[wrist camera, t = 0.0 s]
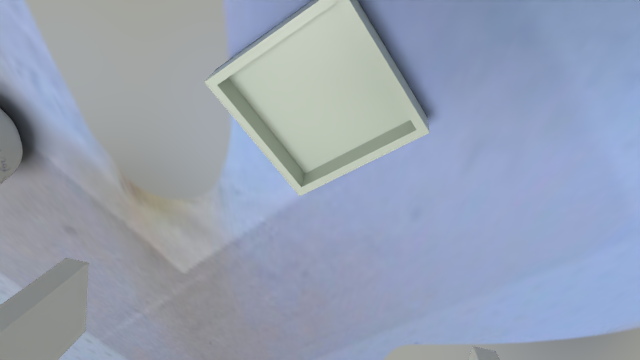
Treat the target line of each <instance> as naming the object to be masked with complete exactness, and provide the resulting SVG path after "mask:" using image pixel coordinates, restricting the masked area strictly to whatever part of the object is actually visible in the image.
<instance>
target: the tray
mask: <svg viewBox="0 0 640 360" xmlns="http://www.w3.org/2000/svg"><path fill="white" fill-rule="evenodd" d="M205 84H206V85H207V86H208V87H209V89H210V90H211V91H212V92H213V93H214V95H215V96H216V97H217V98H218V99H219V100H220V102H221V103H222V104H223V105H224V106H225V108H226V109H227V110H228V111H229V112H230V114H231V115H232V116H233V117H234V118H235V120H236V121H237V122H238V123H239V124H240V126H241V127H242V128H243V129H244V130H245V132H246V133H247V134H248V135H249V136H250V138H251V139H252V140H253V141H254V142H255V144H256V145H257V146H258V147H259V148H260V149H261V151H262V152H263V153H264V154H265V155H266V157H267V158H268V159H269V160H270V161H271V163H272V164H273V165H274V166H275V167H276V169H277V170H278V171H279V172H280V173H281V175H282V176H283V177H284V178H285V179H286V181H287V182H288V183H289V184H290V185H291V187H292V188H293V189H294V190H295V191H296V193H297V194H298V195H299V196H301V195H303V194H305V193H308V192H310V191H312V190H314V189H316V188H318V187H320V186H322V185H324V184H326V183H328V182H330V181H332V180H334V179H336V178H338V177H340V176H342V175H344V174H346V173H348V172H350V171H352V170H355V169H357V168H359V167H361V166H363V165H365V164H367V163H369V162H371V161H373V160H375V159H377V158H379V157H381V156H383V155H385V154H387V153H389V152H391V151H393V150H395V149H397V148H399V147H402V146H404V145H406V144H408V143H410V142H412V141H414V140H416V139H418V138H420V137H422V136H424V135H426V134H428V133H430V132H429V126H428V119H427V116H426V114H425V113H424V111H423V109H422V108H421V106H420V104H419V102H418V101H417V99H416V97H415V96H414V94H413V92H412V91H411V89H410V87H409V86H408V84H407V82H406V81H405V79H404V77H403V76H402V74H401V72H400V71H399V69H398V67H397V66H396V64H395V62H394V61H393V59H392V57H391V56H390V54H389V52H388V51H387V49H386V47H385V46H384V44H383V42H382V41H381V39H380V37H379V35H378V34H377V32H376V30H375V29H374V27H373V25H372V24H371V22H370V20H369V19H368V17H367V15H366V14H365V12H364V10H363V9H362V7H361V5H360V4H359V2H358V0H312V1H311V2H309V3H308V4H306V5H305V6H304V7H302V8H301V9H299V10H298V11H297V12H295V13H294V14H292V15H291V16H290V17H288V18H287V19H285V20H284V21H283V22H281V23H280V24H278V25H277V26H276V27H274V28H273V29H272V30H270V31H269V32H267V33H266V34H265V35H263V36H262V37H260V38H259V39H258V40H256V41H255V42H253V43H252V44H251V45H249V46H248V47H246V48H245V49H244V50H242V51H241V52H239V53H238V54H237V55H235V56H234V57H232V58H231V59H230V60H228V61H227V62H226V63H224V64H223V65H221V66H220V67H219V68H217V69H216V70H215V71H214V72H213V73H212V74H211V75H210V76H209V77H208V79H207V80H206V81H205Z"/></svg>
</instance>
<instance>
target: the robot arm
mask: <svg viewBox="0 0 640 360" xmlns="http://www.w3.org/2000/svg"><path fill="white" fill-rule="evenodd" d="M88 265H89V263H88V262H83V261H79V260H74V259H70V258H65V259H64V260H63V261H61V262H60V263H59V264H57V265H56V266H54V267H53V268H52V269H50V270H49V271H47V272H46V273H45V274H43V275H42V276H40V277H39V278H38V279H36V280H35V281H33V282H32V283H31V284H29V285H28V286H26V287H25V288H24V289H22V290H21V291H19V292H18V293H17V294H15V295H14V296H12V297H11V298H10V299H8V300H7V301H5V302H4V303H3V304H1V305H0V360H58V359H59V358H60V357H61V356H62V355H63V354H64V353H65V352H66V351H67V350H68V349H69V348H70V347H71V346H72V345H73V344H74V343H75V342H76V341H77V340H78V339H79V337H80V336H81V335H82V334H83V333H84V332H85V331H86V310H87V287H88ZM468 360H500V359H499V357H498V355H497V353H496V351H492V350H488V349H483V348H478V347H473V348H472V351H471V353H470V356H469V359H468Z"/></svg>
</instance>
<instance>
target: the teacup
mask: <svg viewBox="0 0 640 360" xmlns="http://www.w3.org/2000/svg"><path fill="white" fill-rule="evenodd" d="M22 154H23V149H22V143H21V140H20V136H19V133H18V130H17V128H16V126H15V124H14V123H13V121H12V120H11V119H10V117H9V116H8V115H7V114H6V113H5V112H4V111H3V110H2V109H0V184H1V183H3V182H4V181H5V180H6V179H7V178H9V177H10V176H11V175H12V174H13V173H14V172H15V171H16V169H17V168H18V166H19V165H20V162H21V160H22Z"/></svg>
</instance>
